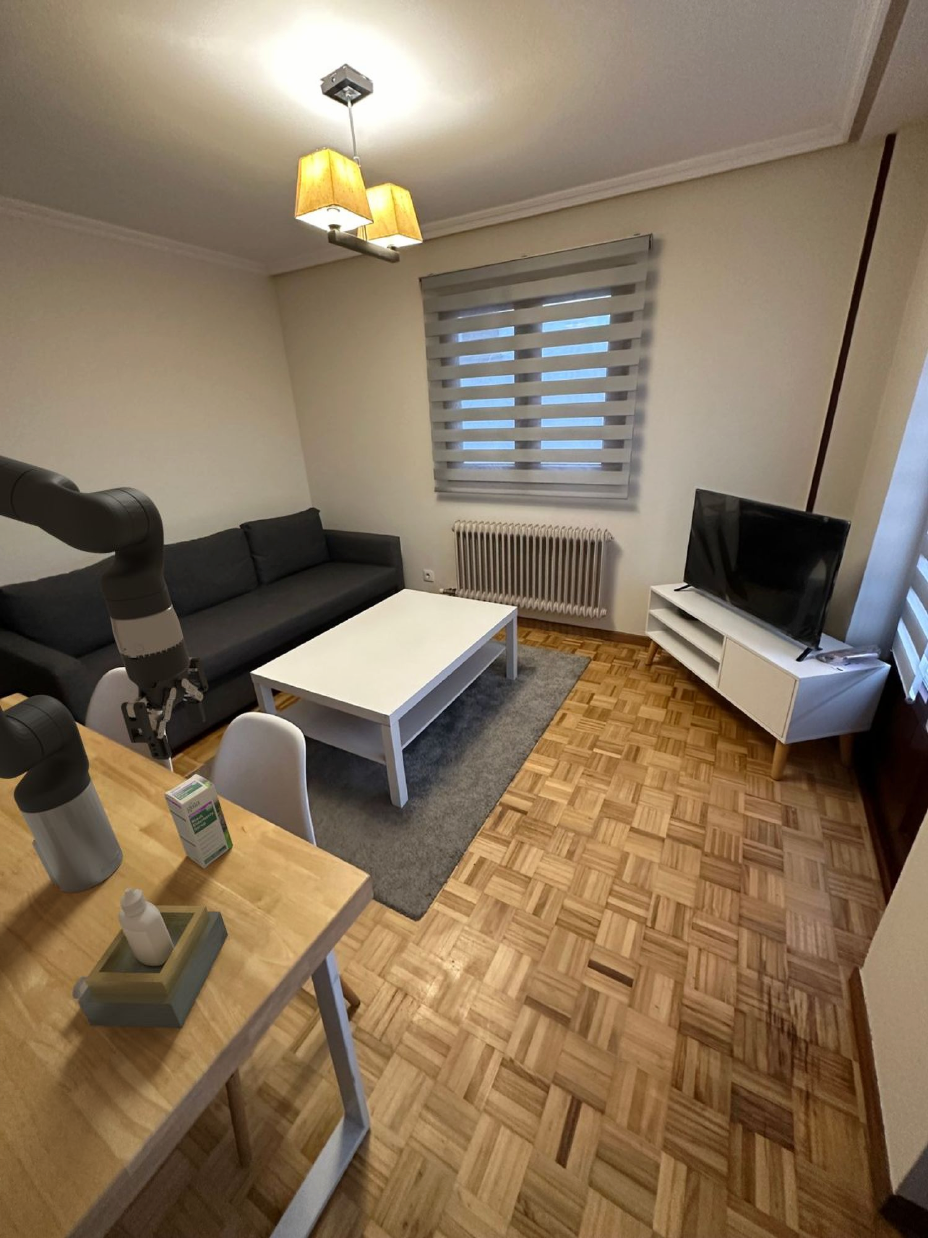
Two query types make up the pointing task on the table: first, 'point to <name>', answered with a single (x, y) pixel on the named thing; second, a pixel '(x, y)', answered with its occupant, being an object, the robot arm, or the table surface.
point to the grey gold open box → (153, 974)
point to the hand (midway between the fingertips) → (182, 739)
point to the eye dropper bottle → (144, 929)
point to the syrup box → (199, 820)
